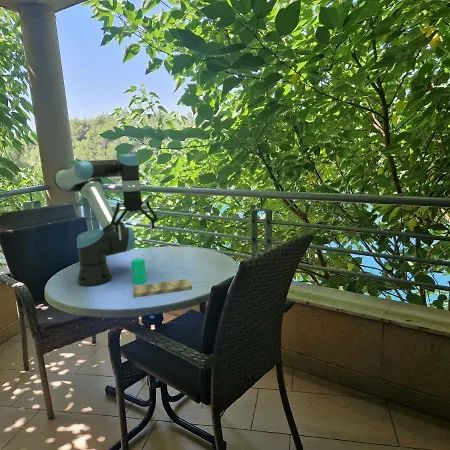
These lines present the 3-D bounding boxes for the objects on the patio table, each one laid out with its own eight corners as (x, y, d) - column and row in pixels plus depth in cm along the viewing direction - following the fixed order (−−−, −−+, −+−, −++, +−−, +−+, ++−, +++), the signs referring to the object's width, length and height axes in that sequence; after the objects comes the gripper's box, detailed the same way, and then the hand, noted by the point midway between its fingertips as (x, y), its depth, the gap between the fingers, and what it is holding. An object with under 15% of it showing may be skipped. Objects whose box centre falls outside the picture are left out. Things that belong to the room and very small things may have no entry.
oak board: (133, 297, 137) (133, 294, 136) (133, 289, 145) (133, 286, 145) (192, 289, 143) (191, 285, 143) (188, 282, 151) (188, 278, 151)
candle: (143, 284, 150) (141, 258, 148) (130, 284, 152) (128, 258, 149) (148, 279, 156) (146, 255, 154) (136, 279, 157) (134, 254, 155)
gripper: (101, 193, 139) (106, 242, 143) (161, 189, 146) (165, 236, 150) (101, 191, 146) (107, 239, 150) (159, 187, 153) (163, 233, 157)
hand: (136, 237), depth 150 cm, fingers open, 13 cm apart
